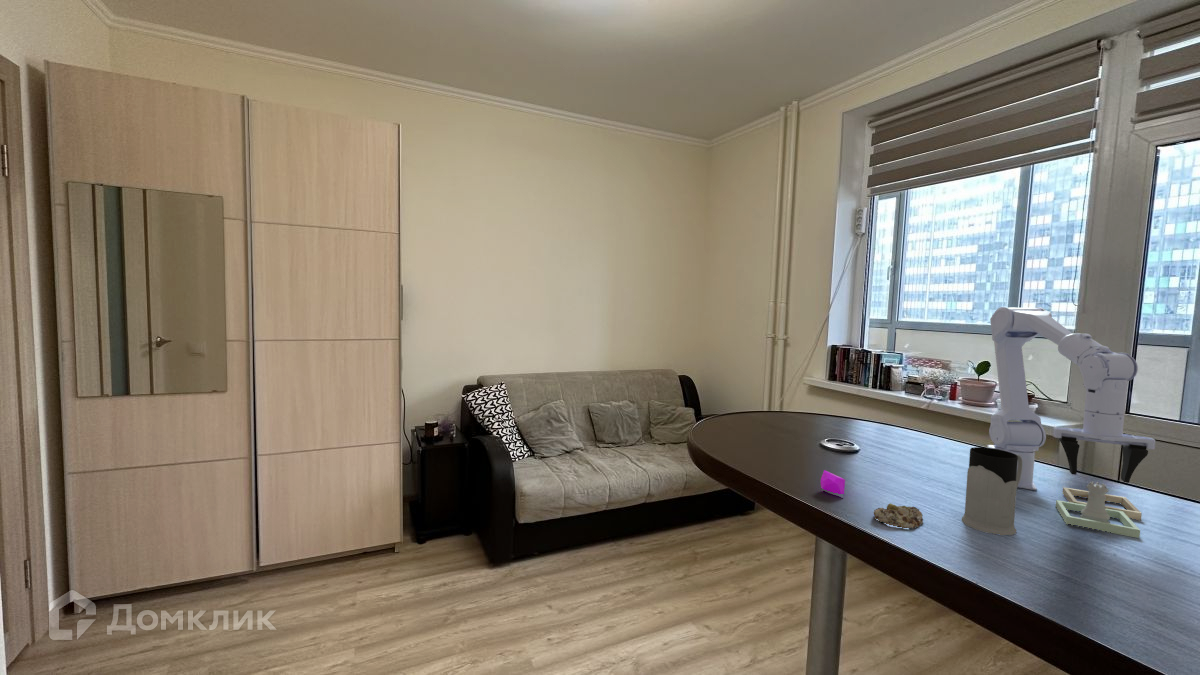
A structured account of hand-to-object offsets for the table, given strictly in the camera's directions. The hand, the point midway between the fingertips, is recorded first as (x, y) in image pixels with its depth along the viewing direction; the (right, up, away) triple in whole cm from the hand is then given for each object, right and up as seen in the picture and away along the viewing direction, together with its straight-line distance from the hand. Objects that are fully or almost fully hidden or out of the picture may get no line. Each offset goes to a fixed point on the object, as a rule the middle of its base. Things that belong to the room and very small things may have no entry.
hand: (1098, 477), depth 101 cm
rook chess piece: (0, -10, +1) cm, 10 cm away
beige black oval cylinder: (-21, -9, -1) cm, 23 cm away
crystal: (-48, -8, +14) cm, 51 cm away
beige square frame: (+9, -9, +8) cm, 15 cm away
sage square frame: (0, -9, +1) cm, 9 cm away
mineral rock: (-41, -10, 0) cm, 42 cm away
